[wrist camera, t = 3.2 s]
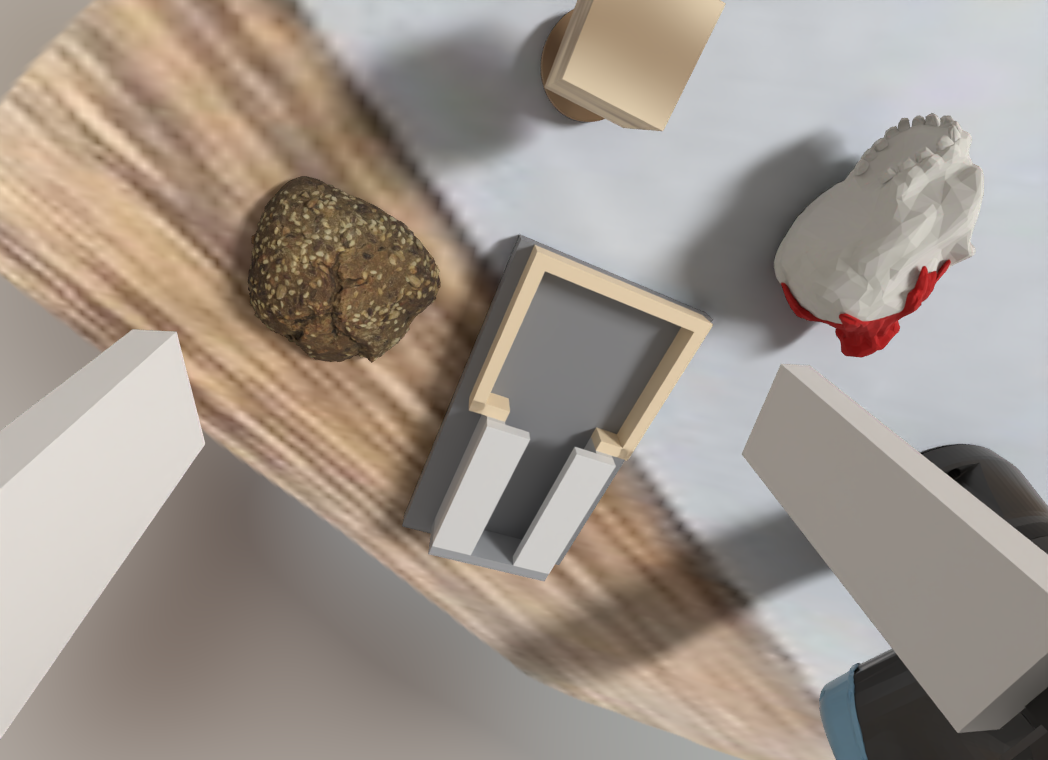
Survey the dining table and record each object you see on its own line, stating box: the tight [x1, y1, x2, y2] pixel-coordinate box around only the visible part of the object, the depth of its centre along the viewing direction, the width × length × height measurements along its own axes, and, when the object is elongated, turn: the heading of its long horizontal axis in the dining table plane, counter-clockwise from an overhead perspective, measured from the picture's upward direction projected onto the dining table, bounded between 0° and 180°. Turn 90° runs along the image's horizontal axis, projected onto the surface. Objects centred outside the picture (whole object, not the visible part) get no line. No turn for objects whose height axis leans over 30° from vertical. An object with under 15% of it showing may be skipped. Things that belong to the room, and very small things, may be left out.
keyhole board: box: [402, 235, 713, 581], centre depth 41 cm, size 28×16×5 cm, turn 157°
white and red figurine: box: [774, 113, 984, 357], centre depth 34 cm, size 9×11×15 cm
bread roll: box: [248, 176, 441, 362], centre depth 34 cm, size 13×12×5 cm
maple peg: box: [541, 0, 725, 131], centre depth 25 cm, size 6×6×12 cm
